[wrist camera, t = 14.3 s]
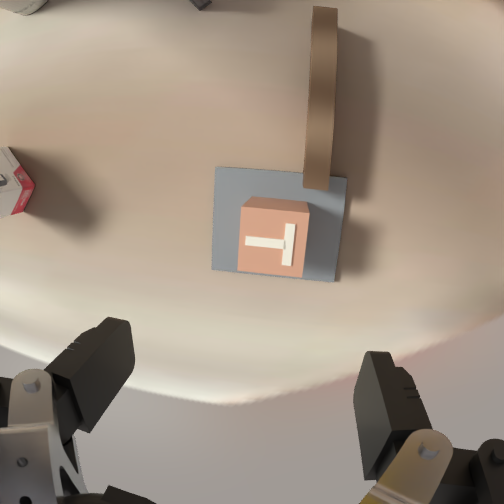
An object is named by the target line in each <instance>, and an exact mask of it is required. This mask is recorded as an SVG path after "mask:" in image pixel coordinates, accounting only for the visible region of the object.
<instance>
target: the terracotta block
mask: <svg viewBox="0 0 504 504" xmlns="http://www.w3.org/2000/svg"><path fill="white" fill-rule="evenodd" d="M309 214H310V213H309V209H308V204H307V202H306V201H297V200H287V199H276V198H266V197H254V196H252V197H251V198H250V199H249V200H248V201H246V202H245V203H244V204H243V205H242V206H241V217H240V234H239V250H238V268H237V271H245V272H254V273H263V274H272V275H281V276H291V277H300V278H302V273H303V265H304V257H305V249H306V241H307V232H308V223H309Z"/></svg>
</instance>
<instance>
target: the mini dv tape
mask: <svg viewBox="0 0 504 504" xmlns="http://www.w3.org/2000/svg"><path fill="white" fill-rule="evenodd" d="M190 1H191V2H192V3H193V4H194V5H195V6H196V7H197V8H198V9H199V11H200V10H202V9H203V8H205V7H206V6H207V5H209V4H210V3H212V2H211V0H190Z"/></svg>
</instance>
